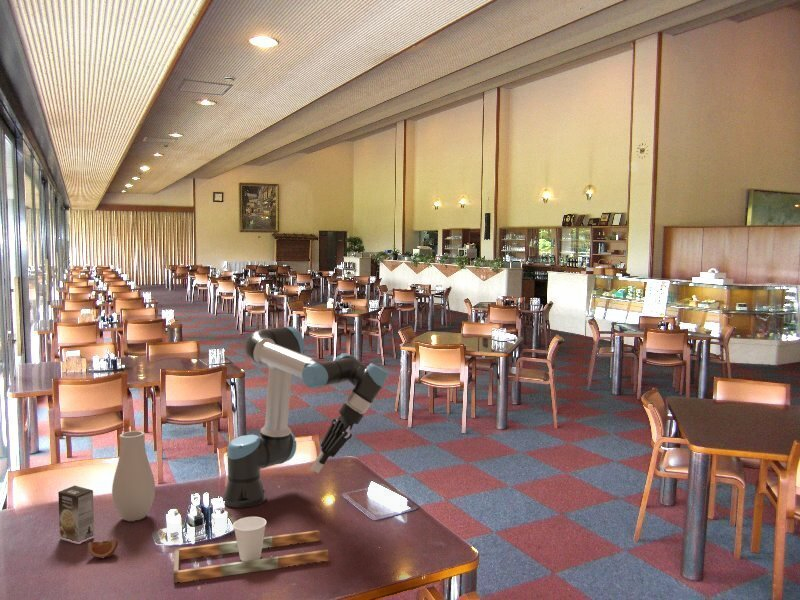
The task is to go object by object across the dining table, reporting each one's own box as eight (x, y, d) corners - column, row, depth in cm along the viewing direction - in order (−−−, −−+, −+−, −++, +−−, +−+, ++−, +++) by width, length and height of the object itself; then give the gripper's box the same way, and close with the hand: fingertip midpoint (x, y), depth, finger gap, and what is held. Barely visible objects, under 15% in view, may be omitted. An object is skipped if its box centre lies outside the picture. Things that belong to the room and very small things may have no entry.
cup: (256, 568, 190) (255, 532, 190) (227, 563, 194) (226, 527, 193) (273, 553, 200) (272, 518, 199) (245, 548, 203) (244, 514, 202)
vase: (104, 523, 222) (101, 437, 219) (134, 508, 235) (131, 426, 232) (135, 529, 217) (132, 441, 214) (164, 514, 229) (162, 430, 227)
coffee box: (58, 540, 209) (56, 491, 207) (76, 532, 214) (74, 485, 213) (78, 545, 205) (76, 496, 204) (95, 537, 211) (94, 489, 209)
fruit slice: (85, 562, 194) (84, 546, 194) (92, 552, 201) (91, 536, 200) (114, 560, 195) (114, 544, 195) (120, 550, 202) (120, 534, 202)
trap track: (318, 539, 210) (318, 530, 210) (328, 560, 195) (328, 551, 195) (175, 558, 196) (174, 548, 196) (173, 583, 182) (173, 573, 182)
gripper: (370, 420, 206) (329, 484, 204) (356, 406, 218) (317, 467, 216) (352, 409, 203) (310, 474, 201) (339, 396, 214) (299, 457, 212)
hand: (314, 470), depth 208 cm, fingers closed
